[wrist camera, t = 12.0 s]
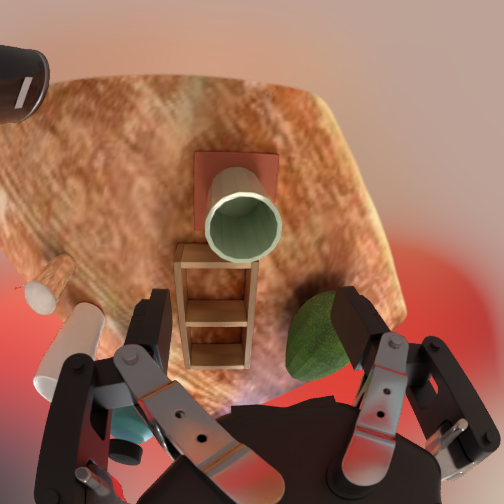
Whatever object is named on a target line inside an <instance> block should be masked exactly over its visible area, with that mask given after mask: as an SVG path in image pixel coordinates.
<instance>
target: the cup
mask: <svg viewBox="0 0 504 504" xmlns="http://www.w3.org/2000/svg"><path fill="white" fill-rule="evenodd" d="M281 232H282V220H281V216H280V213H279V210H278V208H277V207H276V205H275V203H274V201H273V200H272V198H271V196H270V195H269V193H268V191H267V190H266V188H265V186H264V185H263V183H262V181H261V180H260V179H259V178H258V176H257V175H256V174H255V173H254V172H252V171H251V170H249V169H246V168H243V167H230V168H227V169H225V170H223V171H221V172H219V173H218V174H217V175H216V176H215V177H214V179H213V180H212V182H211V184H210V187H209V190H208V198H207V207H206V216H205V237H206V239H207V241H208V244H209V246H210V248H211V249H212V250H213V251H214V252H215V253H216V254H217V255H219V256H220V257H221V258H223V259H225V260H228V261H231V262H234V263H251V262H253V261H256V260H259V259H262V258H264V257H265V256H266V255H267V254H269V253H270V252H271V251H272V250H273V249H274V248H275V246H276V245H277V243H278V241H279V239H280V237H281Z"/></svg>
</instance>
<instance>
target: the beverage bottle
mask: <svg viewBox="0 0 504 504" xmlns="http://www.w3.org/2000/svg"><path fill="white" fill-rule="evenodd" d="M110 434H111V435H112V436H113V437H115V438H116V439H110V440H109V452H108V457H109V458H110V459H112V460H114V461H116V462H118V463H122V464H126V465H138V464H140V461H141V456H142V451H143V450H142V448H141V447H140V446H139V445H137V444H139V443H143V442H145V441H147V440H149V439H150V438H152V437H153V433H152V432H151V430H150V429H149V428H148V426H147V425H146V424H145V422H144V421H143V420H142V418H141V417H140V415H139V414H138V413H137V411H136V410H135V408H134V407H133V405H129V406H124V407H119V408H114V409H113V412H112V421H111V430H110Z"/></svg>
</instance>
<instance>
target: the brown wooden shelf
mask: <svg viewBox="0 0 504 504" xmlns="http://www.w3.org/2000/svg"><path fill="white" fill-rule="evenodd" d="M173 265H174V278H175V289H176V299H177V308H178V317H179V326H180V334H181V342H182V349H183V356H184V363H185V369H250V359H251V348H252V337H253V326H254V315H255V304H256V292H257V281H258V269H259V260H256V261H253V262H251V263H234V262H231V261H228V260H225V259H223V258H221V257H220V256H219V255H217V254H216V253H215V252H214V251H213V250H212V249H211V248H210V246H209V244H201V243H185V244H184V243H178V246H177V249H176V253H175V257H174V261H173ZM186 268H246V278H245V294H244V300H188V296H187V281H186ZM238 326H243V328H242V344H192V342H191V332H190V327H238Z"/></svg>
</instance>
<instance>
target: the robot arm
mask: <svg viewBox="0 0 504 504" xmlns="http://www.w3.org/2000/svg"><path fill="white" fill-rule="evenodd" d="M49 79H50V69H49V64H48V61H47V59H46V57H45V56H44V55H43V54H42V53H41V52H39V51H36V50H32V49H21V48H17V47H10V46H4V45H0V125H2V124H7V123H16V122H21V121H23V120H26V119H27V118H29V117H30V116H31V115H32V114H33V113H34V112H35V111H36V110H37V109H38V108H39V106H40V105H41V103H42V101H43V99H44V97H45V95H46V92H47V89H48V85H49ZM330 319H331V323H332V325H333V327H334V329H335V331H336V333H337V335H338V337H339V339H340V342H341V344H342V346H343V348H344V350H345V352H346V354H347V356H348V358H349V360H350V362H351V364H352V366H353V369H354V371H356V370H361V369H364V372H365V373H364V375H363V377H362V379H361V382H360V385H359V388H358V390H357V393H356V396H355V399H354V401H353V404H352V406H351V405H348V404H344V403H339V402H335V399H334V396H333V395H332V396H326V397H321V398H313V399H309V400H306V401H303V402H301V403H298V404H295V405H292V406H290V407H285V408H284V407H283V408H282V407H273V406H265V405H258V404H257V405H240V406H231V413H229V414H226V415H223V416H220V417H218V418H216V419H213V418H212V417H211V416H210V415H209V414H208V413H207V412H206V411H205V410H204V409H203V408H202V407H201V405H200V404H199V403H198V402H197V401H196V400H195V399H194V398H193V397H192V396H191V395H190V394H189V393H188V392H187V391H186V390H185V388H184V387H183V386H182V385H181V384H180V383H179V382H178V381H176V380H174V381H171V380H170V379H169V378H168V377H167V368H168V359H169V350H170V342H171V334H172V323H173V322H172V309H171V301H170V292H169V289H152V293H151V296H150V299H142V300H141V301H140V302H139V303H138V304H137V305H136V306H135V309H134V312H133V316H132V319H131V322H130V325H129V329H128V332H127V336H126V339H125V343H124V346H122V347H120V348H119V349H118V350H117V351H116V352H115V354H114V356H113V357H111V358H107V359H102V360H97V361H93V359H92V358H91V356H89V355H87V354H85V353H76V354H73V355H71V356H69V357H68V358H67V359H66V360H65V361H64V363H63V365H62V368H61V372H60V375H59V378H58V381H57V384H56V388H55V391H54V395H53V398H52V402H51V406H50V410H49V414H48V417H47V421H46V426H45V430H44V435H43V440H42V445H41V449H40V455H39V460H38V467H37V473H36V480H35V489H34V499H35V502H36V504H129V503H127V501H126V500H125V498H124V495H123V490H122V487H121V485H120V483H119V482H118V481H117V480H116V479H115V478H114V477H113V476H112V475H111V474H110V473H109V472H107V467H108V452H109V440H110V430H111V421H112V412H113V409H114V408H119V407H124V406H129V405H133V407H134V408H135V410H136V411H137V413H138V414H139V415H140V417H141V418H142V420H143V421H144V422H145V424H146V425H147V426H148V428H149V429H150V430H151V432H152V433H153V435H154V436H155V437H156V439H157V440H158V442H159V444H160V445H161V446H162V448H163V449H164V450H165V452H166V453H167V454H168V455H169V457H170V458H171V459H172V460H173V461H174V462H173V463H172V464H171V465H170V466H169V467H168V468H167V470H166V471H165V472H164V473H163V474H162V475H161V476H160V477H159V478H158V479H157V480H156V481H155V483H153V484H152V485H151V486H150V487H149V488H148V489H147V490H146V491H145V492H144V494H143V495H142V496H141V497H140V498H139V500H138V501H137V503H136V504H442V502H441V495H440V494H441V493H440V490H441V482H442V481H444V480H447V481H454V480H456V479H458V478H459V477H461V476H462V475H464V474H465V473H466V472H468V471H469V470H471V469H472V468H473V467H475V466H476V465H478V464H479V463H480V462H481V461H483V460H484V459H485V458H487V457H488V456H489V455H490V454H492V453H493V452H494V451H495V450H496V449H497V448H498V447H499V445H500V440H501V439H500V434H499V431H498V430H497V428H496V426H495V424H494V422H493V420H492V418H491V417H490V415H489V413H488V411H487V409H486V408H485V406H484V404H483V402H482V401H481V399H480V397H479V395H478V394H477V392H476V390H475V389H474V387H473V385H472V384H471V382H470V381H469V379H468V377H467V376H466V374H465V373H464V371H463V370H462V368H461V367H460V365H459V363H458V362H457V360H456V359H455V357H454V356H453V355H452V353H451V351H450V350H449V348H448V347H447V346H446V344H445V343H444V342H443V341H442V340H441V339H439V338H437V337H434V336H428V337H426V338H425V339H424V340H423V342H422V344H414V343H408V341H407V340H406V338H405V337H404V336H402V335H401V334H398V333H396V332H391V331H390V329H389V328H388V326H387V325H386V323H385V322H384V321H383V319H382V318H381V316H380V315H378V312H377V310H376V309H375V307H374V306H373V305H372V303H371V302H370V301H369V300H368V299H367V298H365V297H364V296H363V295H359V293H358V292H357V290H356V289H355V288H354V286H340V287H338V288H337V290H336V293H335V297H334V301H333V304H332V308H331V312H330ZM431 376H432V377H433V378H434V380H435V382H436V384H437V386H438V394H436V392H435V390H434V388H433V386H432V385H431V383H430V381H429V379H430V378H431ZM405 394H406V396H407V398H408V400H409V402H410V404H411V406H412V409H413V411H414V413H415V415H416V417H417V420H418V422H419V424H420V426H421V429H422V431H423V433H424V436H425V438H426V440H427V442H426V446H425V447H426V450H425V449H423V448H422V447H420V446H418V445H417V444H415V443H413V442H411V441H410V440H408V439H406V438H405V437H403V436H401V435H400V434H398V433H396V431H397V427H398V423H399V419H400V414H401V410H402V405H403V401H404V396H405Z"/></svg>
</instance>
